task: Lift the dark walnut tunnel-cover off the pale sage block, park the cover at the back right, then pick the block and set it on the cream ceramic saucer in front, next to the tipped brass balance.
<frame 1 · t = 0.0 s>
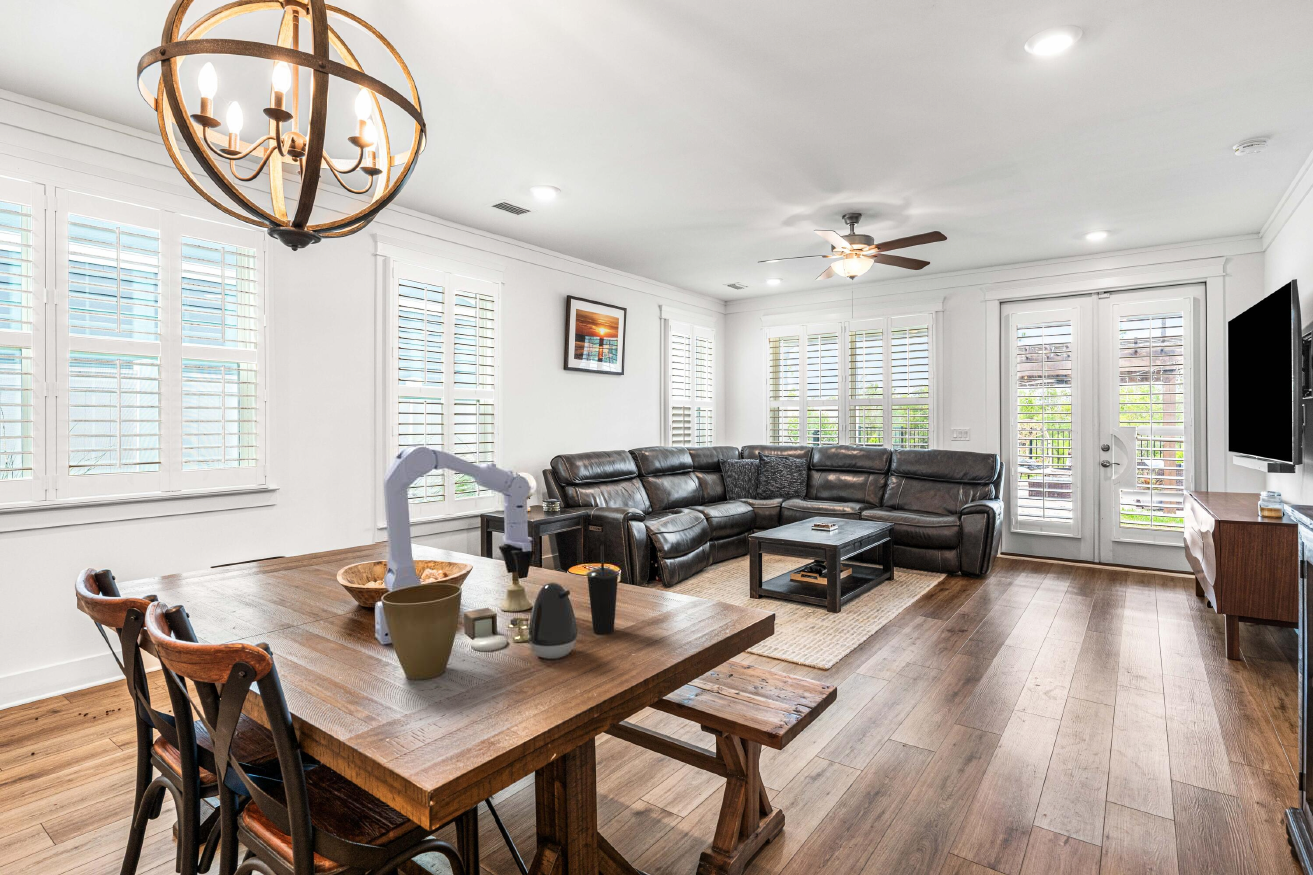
hand: (517, 575, 167), 10 cm above the table, fingers open, 7 cm apart
block: (480, 634, 152), on the table
drinking cup: (603, 632, 152), on the table
plant pot: (424, 673, 129), on the table
pump dispenser: (553, 655, 138), on the table
hand bell: (516, 608, 173), on the table, touching gripper
cover: (480, 634, 152), on the table
balance: (520, 639, 147), on the table
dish: (489, 644, 144), on the table
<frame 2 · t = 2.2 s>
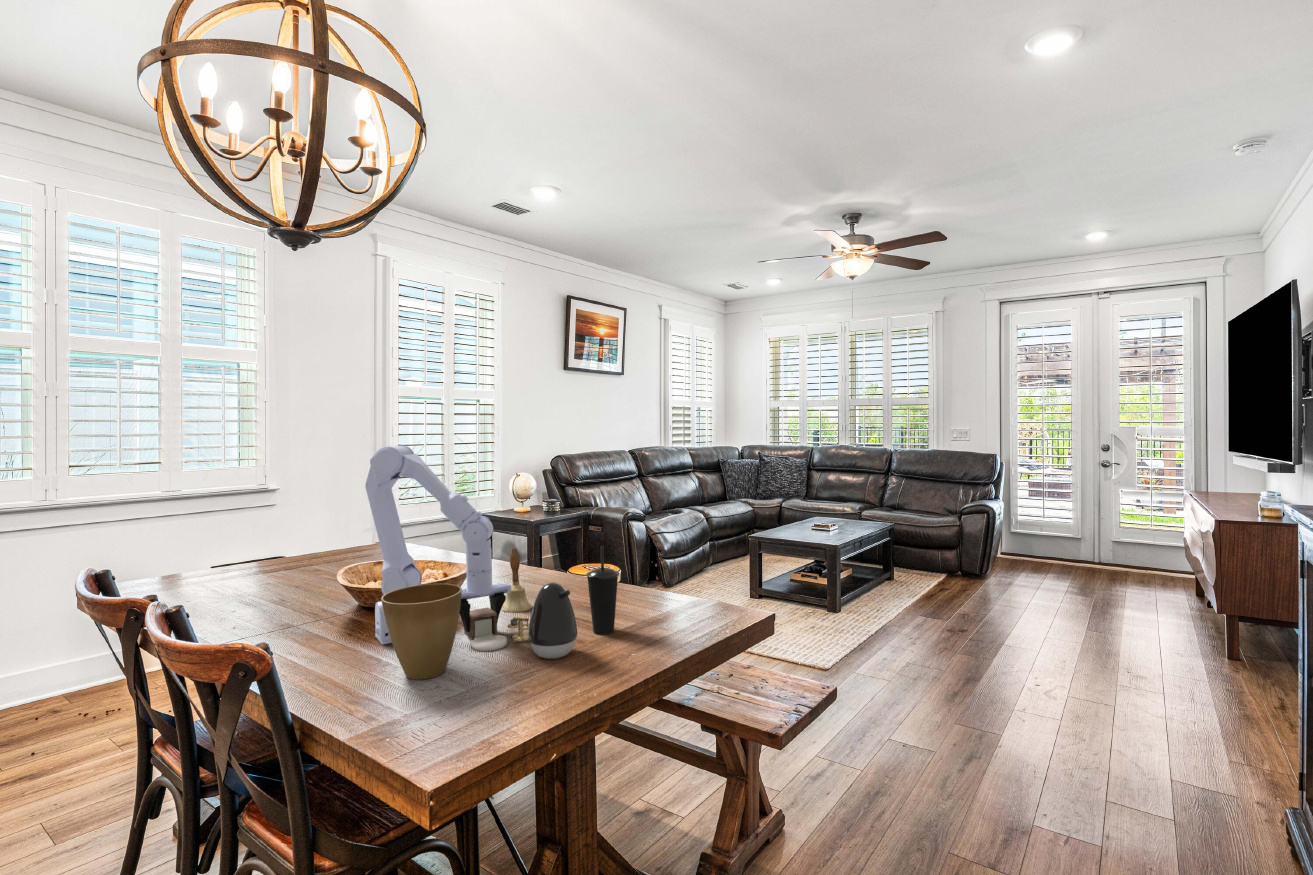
hand: (480, 628, 152), 1 cm above the table, fingers closed on cover, 6 cm apart
hand bell: (516, 608, 173), on the table
cover: (480, 634, 152), on the table, touching gripper
everything else where it was.
when the fingers open (3 cm above the table, at t = 5.3 s): cover drops 1 cm, on the table.
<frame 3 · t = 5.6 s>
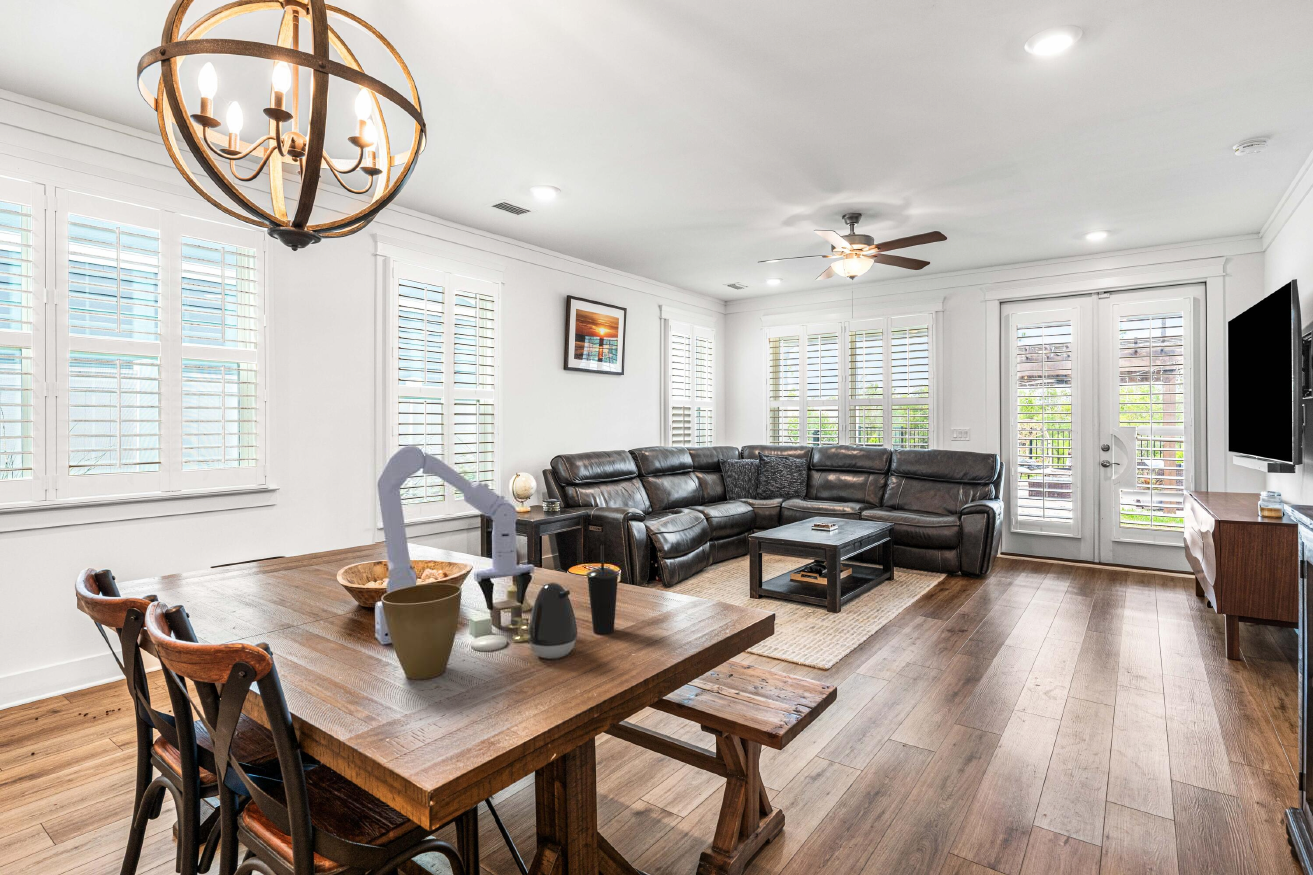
hand: (505, 606, 159), 4 cm above the table, fingers open, 7 cm apart
cover: (506, 624, 159), on the table
everything else where it was.
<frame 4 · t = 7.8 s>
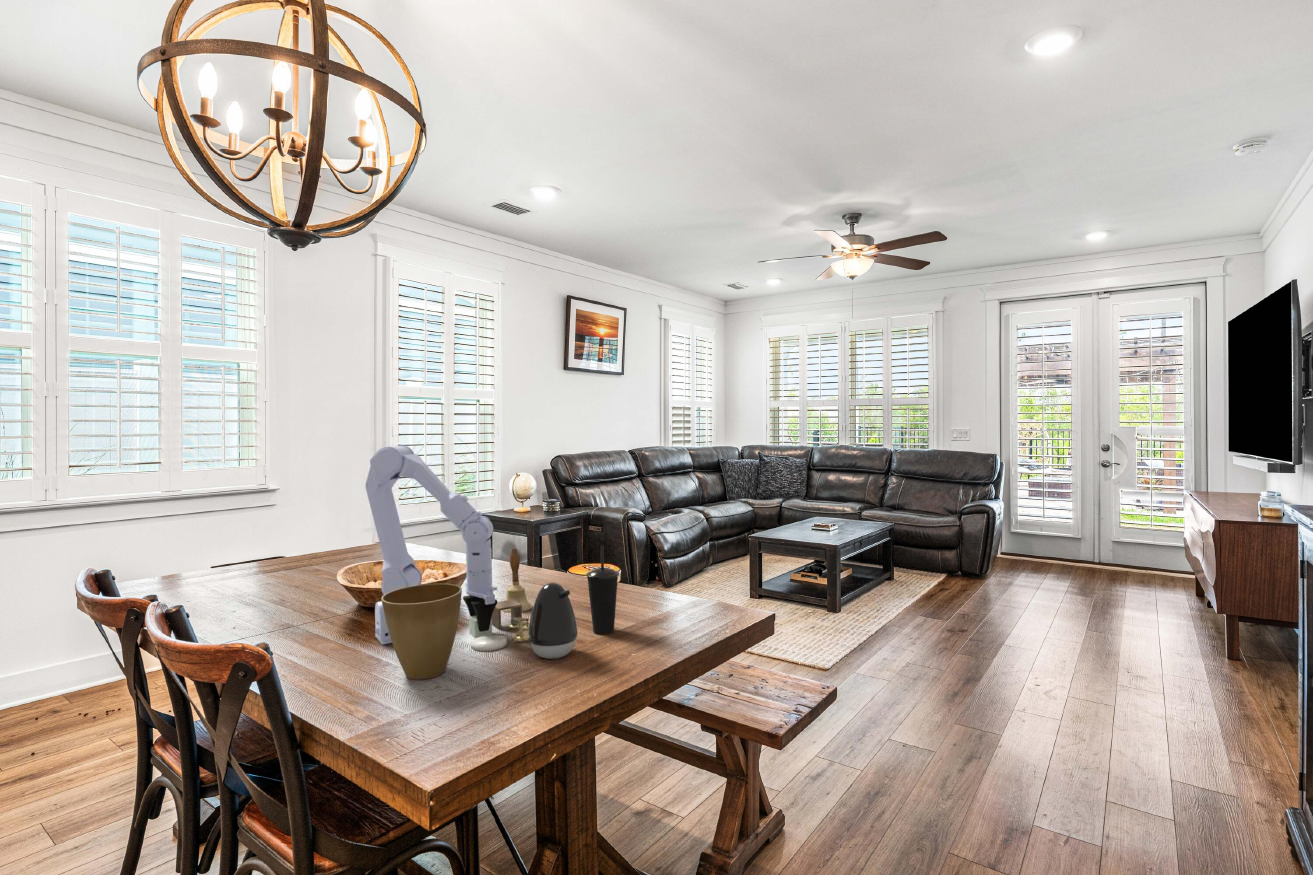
hand: (480, 628, 152), 1 cm above the table, fingers closed on block, 4 cm apart
block: (480, 634, 152), on the table, touching gripper
everything else where it was.
when the fingers open (4 cm above the table, at t = 10.4 s): block drops 1 cm, resting on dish.
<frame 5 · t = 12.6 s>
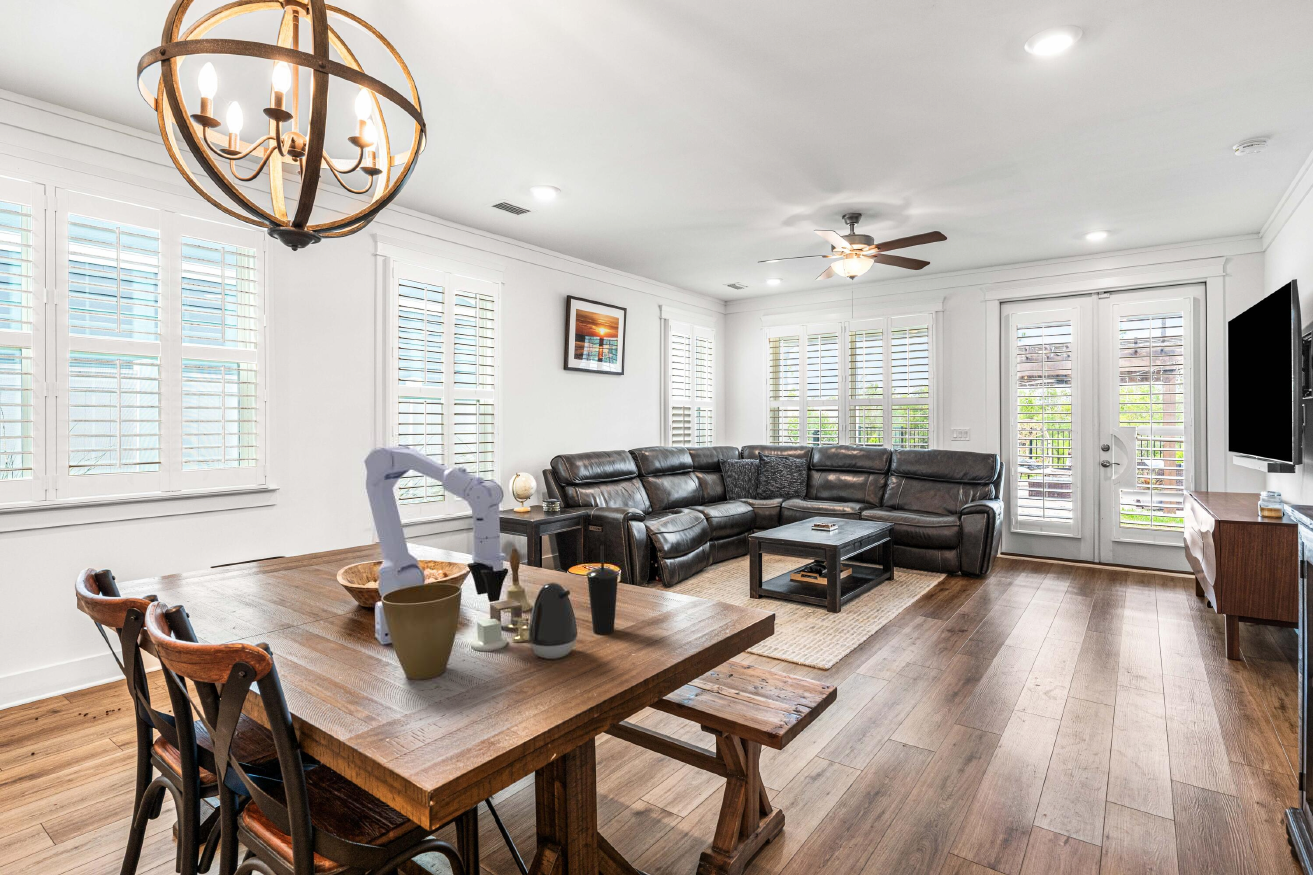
hand: (488, 597, 145), 10 cm above the table, fingers open, 7 cm apart
block: (489, 640, 144), point 1 cm above the table, touching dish
everything else where it was.
at the end: block 0.1 cm off-centre on the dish, point 1.0 cm above the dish's base; cover moved 8.2 cm from its start; the gripper is holding nothing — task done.
